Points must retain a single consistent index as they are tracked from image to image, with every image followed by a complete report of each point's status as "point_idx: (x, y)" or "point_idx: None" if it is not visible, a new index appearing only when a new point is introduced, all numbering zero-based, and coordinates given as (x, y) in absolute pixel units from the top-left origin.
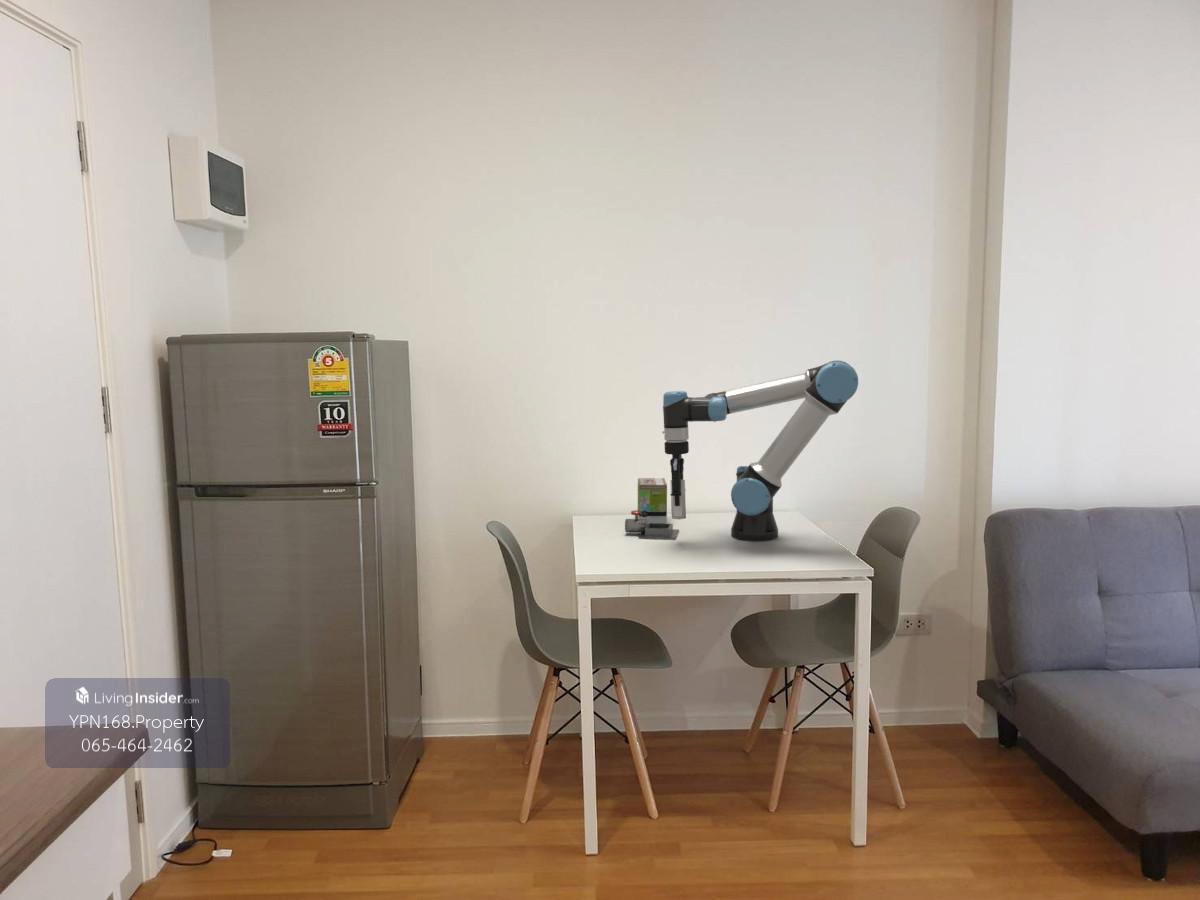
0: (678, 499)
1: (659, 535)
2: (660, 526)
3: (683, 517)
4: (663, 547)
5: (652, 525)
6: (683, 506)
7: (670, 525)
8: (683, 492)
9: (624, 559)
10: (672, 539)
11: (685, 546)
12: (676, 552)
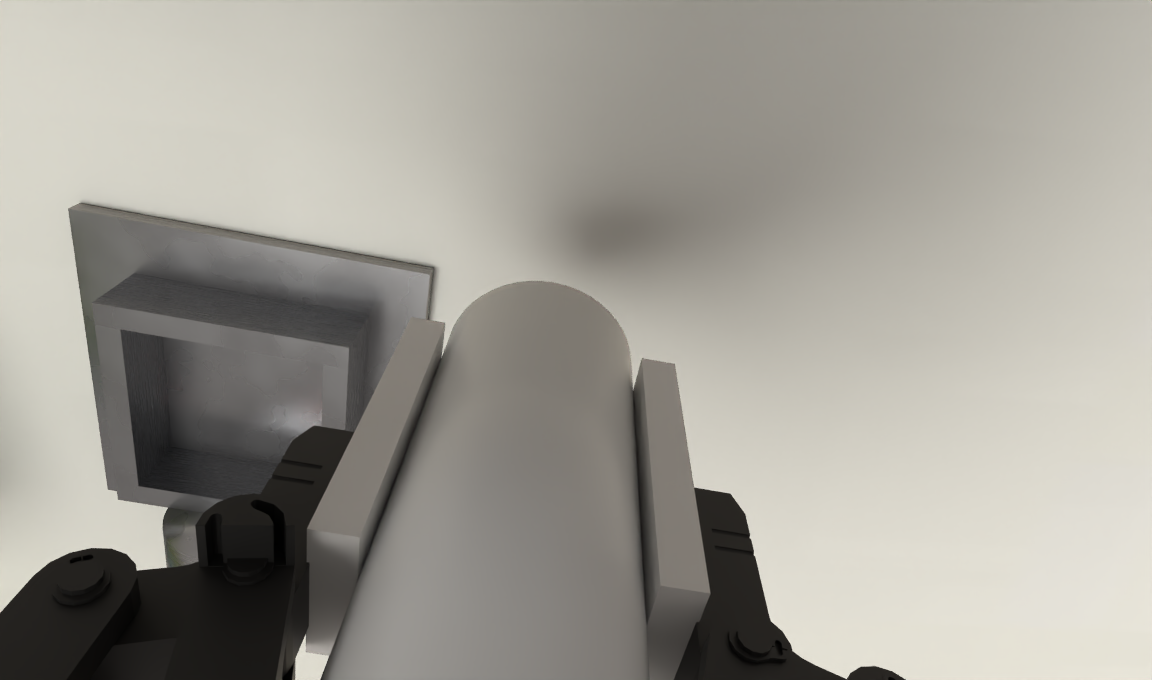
0: (754, 590)
1: (362, 398)
2: (143, 397)
3: (615, 327)
4: (703, 380)
5: (145, 462)
6: (610, 409)
7: (183, 329)
8: (607, 589)
9: (986, 623)
10: (430, 292)
11: (695, 200)
12: (896, 296)
